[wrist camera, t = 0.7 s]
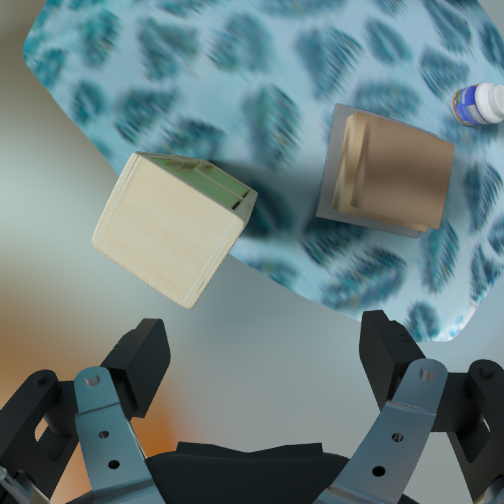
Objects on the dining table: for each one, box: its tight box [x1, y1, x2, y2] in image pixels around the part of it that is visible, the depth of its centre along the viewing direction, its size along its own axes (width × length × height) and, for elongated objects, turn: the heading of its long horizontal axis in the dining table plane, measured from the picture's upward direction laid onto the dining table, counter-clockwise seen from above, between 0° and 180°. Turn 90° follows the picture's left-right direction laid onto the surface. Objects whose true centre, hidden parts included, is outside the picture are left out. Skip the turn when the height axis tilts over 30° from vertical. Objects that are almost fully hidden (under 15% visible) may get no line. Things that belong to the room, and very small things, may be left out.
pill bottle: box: [451, 82, 504, 126], centre depth 26 cm, size 5×5×10 cm
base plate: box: [315, 103, 437, 239], centre depth 34 cm, size 14×14×1 cm
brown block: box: [331, 111, 454, 233], centre depth 30 cm, size 11×11×8 cm
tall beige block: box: [92, 151, 258, 310], centre depth 27 cm, size 8×7×21 cm
